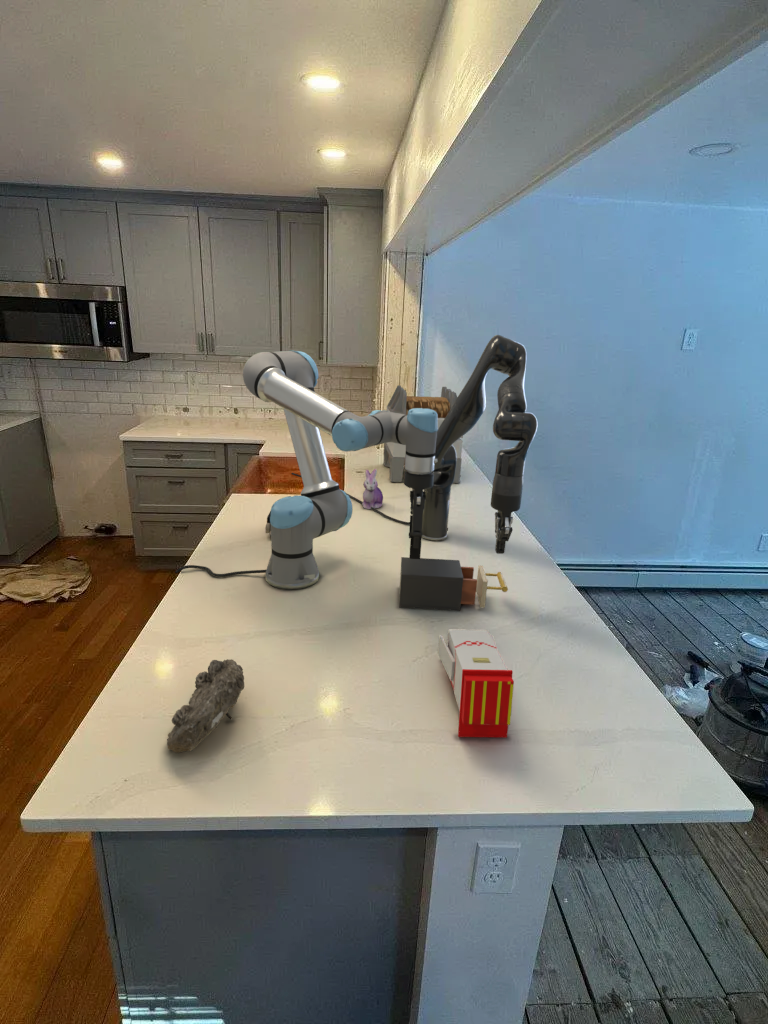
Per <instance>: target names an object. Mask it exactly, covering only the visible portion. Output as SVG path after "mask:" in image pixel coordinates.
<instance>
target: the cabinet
mask: <svg viewBox="0 0 768 1024" xmlns="http://www.w3.org/2000/svg"><path fill="white" fill-rule="evenodd" d="M461 567H462V565H461V561H460V559H443V558H423V557H420V559H409V556H408V557H405V556H401V558H400V576H399V600H398V601H399V603H398V604H399V605H398V607H399V608H400V609H417V610H418V609H419V610H435V611H454V612H455V611H458V612H460V611H461V607H462V606H461V605H462V604H461V596H462V586H463V574H462V570H461Z"/></svg>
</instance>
